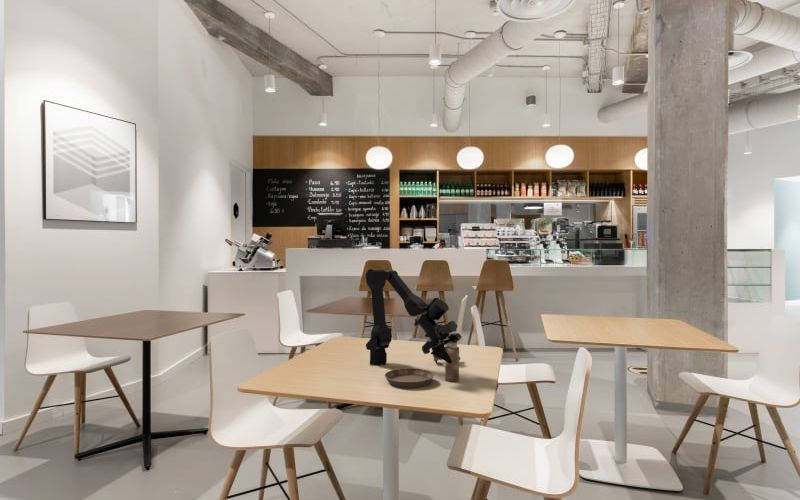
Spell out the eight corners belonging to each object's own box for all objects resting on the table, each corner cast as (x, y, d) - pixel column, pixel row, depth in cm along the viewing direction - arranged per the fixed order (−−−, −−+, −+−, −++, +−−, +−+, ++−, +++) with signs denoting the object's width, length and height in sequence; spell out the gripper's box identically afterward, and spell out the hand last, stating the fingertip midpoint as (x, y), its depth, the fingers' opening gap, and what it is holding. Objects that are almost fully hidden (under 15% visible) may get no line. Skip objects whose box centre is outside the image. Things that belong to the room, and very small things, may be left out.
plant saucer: (391, 391, 162) (391, 382, 162) (379, 377, 179) (379, 369, 179) (440, 388, 167) (440, 379, 167) (424, 374, 184) (424, 366, 184)
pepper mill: (446, 382, 173) (446, 345, 173) (444, 378, 178) (444, 342, 178) (460, 382, 173) (460, 344, 173) (457, 378, 178) (457, 342, 178)
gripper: (428, 317, 171) (454, 352, 164) (457, 311, 185) (482, 344, 178) (411, 336, 176) (435, 371, 169) (440, 329, 190) (464, 362, 183)
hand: (455, 361), depth 174 cm, fingers closed on pepper mill, 5 cm apart
